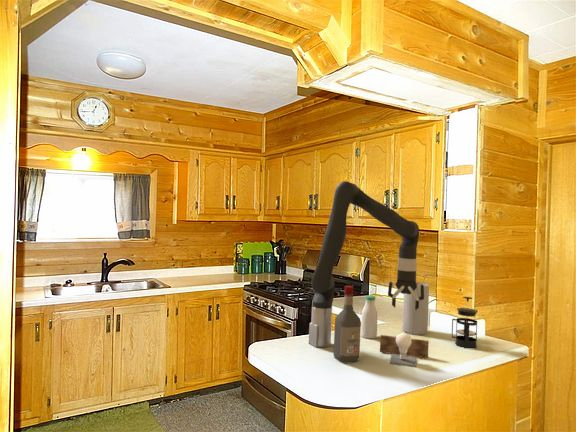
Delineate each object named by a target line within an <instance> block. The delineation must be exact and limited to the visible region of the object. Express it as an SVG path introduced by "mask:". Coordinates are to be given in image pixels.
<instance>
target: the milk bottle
mask: <svg viewBox="0 0 576 432" xmlns="http://www.w3.org/2000/svg"><path fill="white" fill-rule="evenodd" d="M375 302H376V297H375V296H374V295H365V304H364V306H363V308H362V311H361V319H360V321H361V328H360V337H362V338H363V339H369V340H370V339H373V340H374V339H377V336H378V310H377V307H376V305H375Z"/></svg>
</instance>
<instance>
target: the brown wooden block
mask: <svg viewBox="0 0 576 432" xmlns="http://www.w3.org/2000/svg"><path fill="white" fill-rule="evenodd" d="M396 337H397V336H393V335H385V334H384V335H383V334H380V338H379V339H380V343H379V352H381V354H385V355H386V354H393V355H400V351H399V347H398V346H397V344H396ZM411 340H412V343H411V346H410V347H409V348H408V351H407V354H406V356H408V357H417V358H420V359H423V360H427V359H428V358H429V340H426V339H418V338H411Z"/></svg>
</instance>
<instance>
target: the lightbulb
mask: <svg viewBox="0 0 576 432" xmlns="http://www.w3.org/2000/svg"><path fill="white" fill-rule="evenodd" d="M395 337H396V344H397V346H398V347H399V351H400V354H399V355H400V359H402V360H405V359H406V356H407V355H406V354H407V351H408V348H409V347H410V346H411V343H412V340H411V339H412V337H411V336H410V335H409V333H406V332H400V333H399V334H397V336H395Z"/></svg>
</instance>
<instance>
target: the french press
mask: <svg viewBox="0 0 576 432" xmlns="http://www.w3.org/2000/svg"><path fill="white" fill-rule="evenodd" d="M462 299H465V300H466V307H458V308H457V309H456V310H457V314H458V315H459V316H463V317H458V318H452V319H451V338H452V339H455V343H454V345H455V344H456V345H455V346H457V347H459V348H462V347H464V348H463V349H467V348H475V349H477V348H478V346H477V339H478V337H477V336H478V334H477V333H478V320H476V319H473V318H472V317H476V315H477V313H478V310H477V309H473V308H469V302H470V300H472V299H473V297H472V296H471V297H470V296H463V298H462ZM470 317H471V318H470ZM454 321H456V326H455V328H456V329H455V336H453V335H454V334H453V330H454ZM458 324H459V325H462V326H463V329H458ZM470 326H471V327H474V326H476V327H475V329H476V330H475V331H473V330H470ZM458 334H459V335H458ZM474 336H475V338H474ZM476 347H477V348H476Z"/></svg>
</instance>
